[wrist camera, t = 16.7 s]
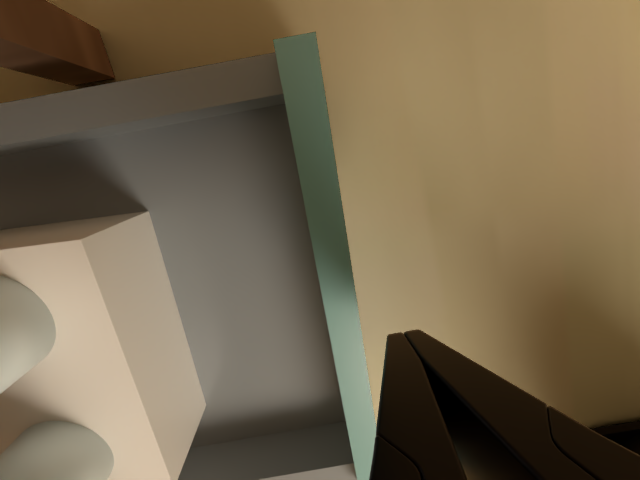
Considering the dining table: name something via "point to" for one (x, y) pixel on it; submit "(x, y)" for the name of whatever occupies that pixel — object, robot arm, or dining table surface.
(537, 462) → the robot arm
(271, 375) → the drawer
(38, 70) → the wooden stand
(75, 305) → the cream toy brick
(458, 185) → the dining table surface
